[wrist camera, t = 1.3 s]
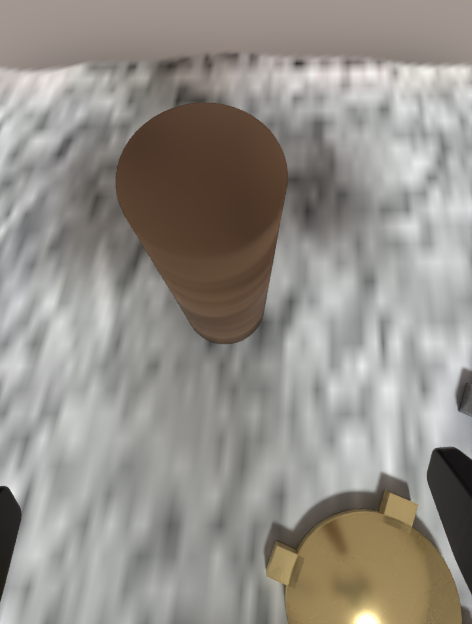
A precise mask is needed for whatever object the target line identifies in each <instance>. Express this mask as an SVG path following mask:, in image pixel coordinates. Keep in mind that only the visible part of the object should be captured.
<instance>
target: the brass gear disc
mask: <svg viewBox="0 0 472 624" xmlns="http://www.w3.org/2000/svg"><path fill="white" fill-rule="evenodd" d="M417 507H418V504H416V503H414V502H412V501H410V500H407V499H405V498H403V497H400V496H398V495H396V494H393V493H391V492H389V491H386V490H385V491H384V494H383V497H382V501H381V504H380V508H379V511H376V510H370V509H353V510H347V511H343V512H339V513H337V514H334V515H331V516H330V517H328V518H326V519H324V520H322V521H321V522H320V523H318V524H317V525H316V526H314V527H313V528H312V529H311V530H310V531H309V532H308V533H307V534H306V536H305V537H304V538H303V540H302V541H301V542H300V544H299V546H298V547H297V549H293V548H291V547H289V546H287V545H285V544H282V543H280V542H278V541H276V542H275V545H274V548H273V551H272V553H271V556H270V559H269V562H268V565H267V568H266V575H267V577H270V578H272V579H274V580H276V581H278V582H280V583H282V584H285V606H286V614H287V619H288V624H462V615H461V605H460V600H459V594H458V591H457V588H456V584H455V581H454V579H453V577H452V574H451V572H450V570H449V568H448V566H447V564H446V563H445V561H444V559H443V558H442V556H441V555H440V553H439V552H438V551H437V549H436V548H435V547H434V546H433V545H432V544H431V543H430V541H429V540H428V539H427V538H425V537H424V536H423V535H422V534H421V533H420V532H419V531H417V530H416V529H414V528H413V527H412V525H413V521H414V518H415V514H416V510H417Z"/></svg>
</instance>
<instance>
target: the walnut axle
mask: <svg viewBox="0 0 472 624" xmlns="http://www.w3.org/2000/svg"><path fill="white" fill-rule="evenodd" d="M287 178H288V172H287V164H286V160H285V156H284V153H283V151H282V149H281V146H280V144H279V143H278V141H277V139H276V138H275V136H274V135H273V134H272V133H271V131H270V130H269V129H268V128H267V127H266V126H265V125H264V124H263V123H262V122H260V121H259V120H258V119H256V118H255V117H253V116H252V115H250V114H248V113H246V112H244V111H242V110H239V109H237V108H234V107H231V106H227V105H223V104H216V103H193V104H187V105H182V106H178V107H175V108H172V109H169V110H167V111H165V112H162V113H160V114H159V115H157V116H155V117H153V118H152V119H151V120H149V121H148V122H146V123H145V124H144V125H143V126H142V127H141V128H140V129H138V130H137V131H136V133H135V134H134V135H133V136H132V137H131V139H130V140H129V141H128V143H127V145H126V146H125V148H124V150H123V152H122V154H121V157H120V159H119V163H118V166H117V172H116V192H117V197H118V201H119V204H120V207H121V209H122V211H123V213H124V215H125V217H126V219H127V220H128V222H129V224H130V225H131V227H132V229H133V230H134V232H135V233H136V235H137V237H138V238H139V240H140V242H141V243H142V245H143V247H144V248H145V250H146V252H147V253H148V255H149V256H150V258H151V260H152V261H153V263H154V265H155V266H156V268H157V270H158V271H159V273H160V275H161V276H162V278H163V279H164V281H165V283H166V284H167V286H168V288H169V289H170V291H171V293H172V294H173V296H174V298H175V299H176V301H177V302H178V304H179V306H180V307H181V309H182V311H183V312H184V314H185V316H186V317H187V319H188V321H189V322H190V324H191V325H192V327H193V328H194V330H195V331H196V332H197V333H198V334H199V335H200V336H202V337H203V338H205V339H206V340H208V341H211V342H214V343H218V344H232V343H236V342H239V341H242V340H244V339H245V338H247V337H248V336H250V335H251V334H252V333H253V332H254V331H255V330H256V329H257V327H258V326H259V324H260V322H261V320H262V317H263V314H264V309H265V303H266V298H267V292H268V287H269V281H270V276H271V270H272V265H273V259H274V254H275V248H276V243H277V237H278V232H279V227H280V221H281V216H282V210H283V205H284V199H285V194H286V188H287Z"/></svg>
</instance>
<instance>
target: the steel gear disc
mask: <svg viewBox="0 0 472 624" xmlns="http://www.w3.org/2000/svg"><path fill="white" fill-rule="evenodd" d="M459 412H461V413H464V414H466V415H469V416H471V417H472V383H466V387H465V391H464V395H463V398H462V402H461V406H460V410H459Z"/></svg>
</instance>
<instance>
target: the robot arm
mask: <svg viewBox="0 0 472 624" xmlns="http://www.w3.org/2000/svg"><path fill="white" fill-rule="evenodd" d="M427 481H428V485H429V488H430V491H431V493H432V496H433V499H434V502H435V505H436V507H437V510H438V513H439V516H440V519H441V521H442V524H443V527H444V530H445V533H446V535H447V538H448V541H449V544H450V547H451V549H452V552H453V554H454V557H455V560H456V562H457V564H458V566H459V569H460V571H461V573H462V575H463V577H464V579H465V582H466V584H467V586H468V588H469V590H470V592H471V594H472V459H470V458H469V457H468V456H466V455H465V454H464V453H463V452H461V451H460V450H458V449H457V448H455V447H440V448H435V449H434V450H433V452H432V455H431V459H430V463H429V466H428V470H427ZM21 516H22V515H21V508H20V506H19V504H18V503H17V501H16V499H15V498H14V496H13V494H12V492H11V491H10V489H9V488H8V487H6V486H0V601H1V598H2V594H3V590H4V587H5V583H6V579H7V575H8V571H9V567H10V563H11V559H12V555H13V551H14V547H15V543H16V539H17V535H18V530H19V526H20V522H21Z"/></svg>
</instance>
